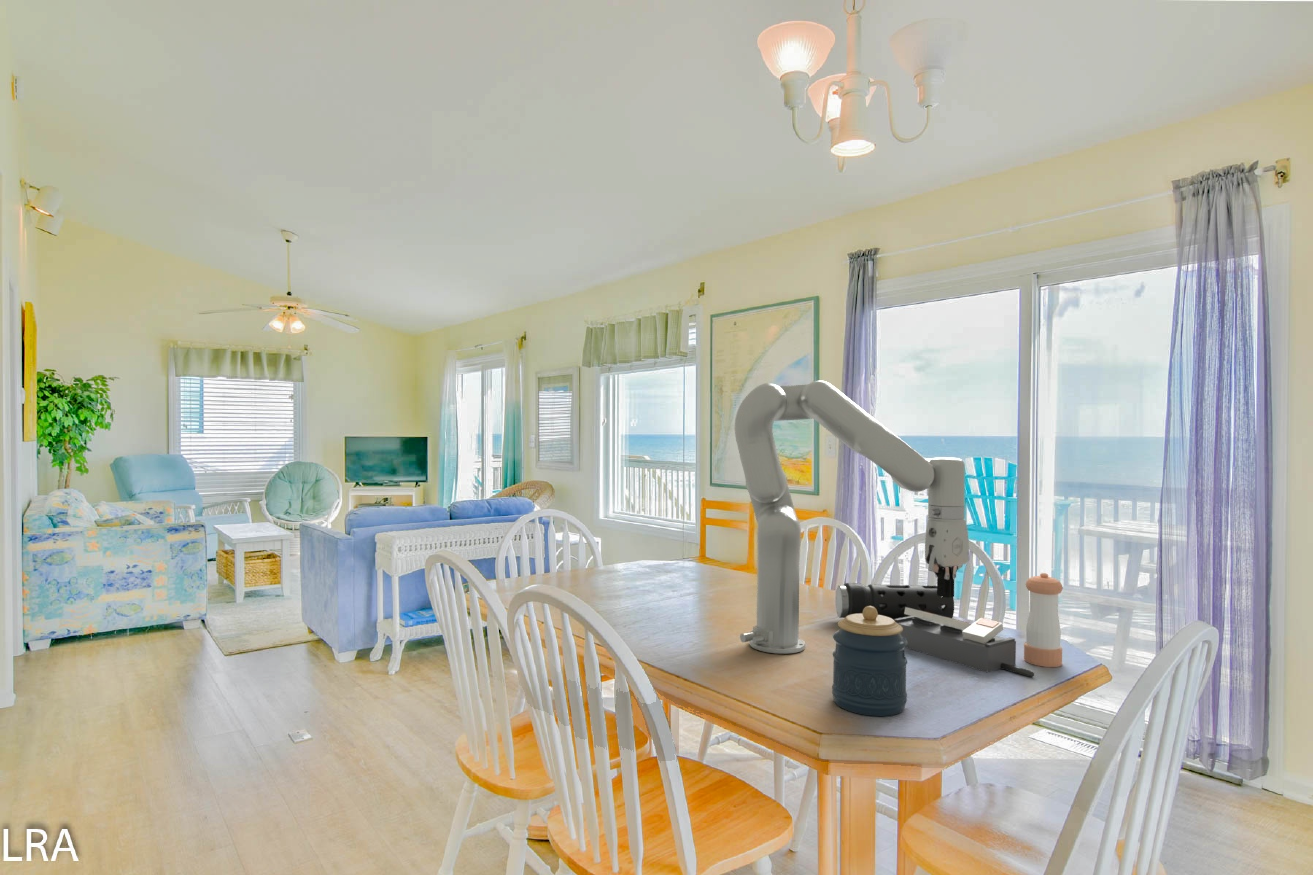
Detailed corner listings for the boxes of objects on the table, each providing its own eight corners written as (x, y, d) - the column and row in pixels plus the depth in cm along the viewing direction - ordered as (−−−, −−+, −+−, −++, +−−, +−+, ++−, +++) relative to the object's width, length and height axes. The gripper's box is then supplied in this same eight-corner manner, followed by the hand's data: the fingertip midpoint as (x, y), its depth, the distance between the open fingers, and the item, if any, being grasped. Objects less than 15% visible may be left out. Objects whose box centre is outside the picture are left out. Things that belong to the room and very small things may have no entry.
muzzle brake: (954, 630, 183) (955, 588, 183) (842, 627, 184) (843, 586, 184) (940, 620, 193) (941, 581, 193) (834, 618, 193) (834, 579, 193)
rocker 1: (922, 618, 165) (923, 610, 165) (904, 613, 169) (905, 606, 169) (940, 623, 168) (942, 616, 169) (922, 618, 173) (923, 611, 173)
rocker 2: (951, 626, 158) (953, 618, 159) (931, 620, 163) (933, 613, 163) (970, 631, 162) (971, 623, 162) (950, 626, 166) (951, 618, 167)
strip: (1019, 682, 144) (1020, 653, 144) (892, 643, 170) (892, 618, 170) (1047, 673, 150) (1047, 645, 150) (919, 637, 175) (920, 613, 175)
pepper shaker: (1023, 663, 156) (1025, 574, 156) (1024, 654, 162) (1025, 569, 162) (1062, 669, 152) (1064, 577, 152) (1061, 659, 159) (1063, 572, 159)
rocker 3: (984, 643, 152) (983, 636, 152) (963, 638, 157) (961, 630, 156) (1003, 629, 156) (1002, 622, 156) (981, 624, 160) (980, 617, 160)
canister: (833, 687, 140) (835, 595, 139) (905, 695, 136) (906, 601, 136) (829, 712, 127) (831, 611, 127) (908, 721, 123) (909, 617, 123)
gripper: (939, 517, 154) (939, 603, 154) (981, 513, 162) (981, 595, 162) (910, 513, 160) (909, 597, 160) (951, 510, 168) (951, 589, 168)
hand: (945, 596), depth 161 cm, fingers closed
